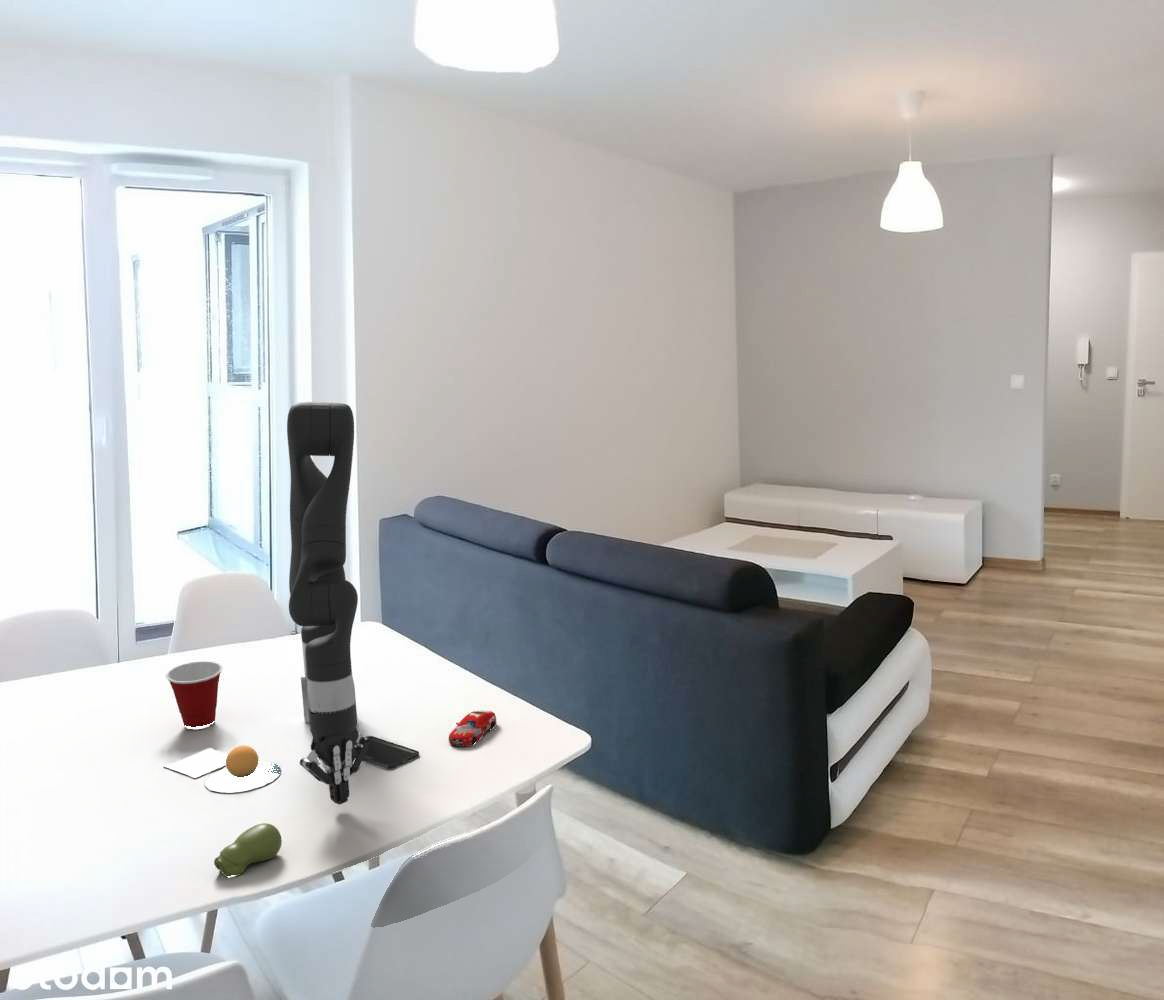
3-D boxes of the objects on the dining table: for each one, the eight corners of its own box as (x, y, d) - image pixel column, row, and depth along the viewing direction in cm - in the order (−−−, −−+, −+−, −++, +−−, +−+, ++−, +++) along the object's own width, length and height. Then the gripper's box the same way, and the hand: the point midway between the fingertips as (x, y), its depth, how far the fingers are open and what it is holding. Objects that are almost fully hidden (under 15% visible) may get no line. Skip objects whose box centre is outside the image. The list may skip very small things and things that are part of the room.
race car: (469, 751, 187) (467, 731, 186) (444, 748, 189) (442, 728, 188) (501, 725, 199) (500, 706, 198) (477, 722, 201) (476, 703, 200)
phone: (368, 735, 194) (421, 752, 185) (369, 740, 194) (422, 757, 185) (336, 748, 188) (389, 767, 179) (336, 754, 188) (389, 773, 179)
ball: (220, 750, 176) (238, 774, 174) (248, 734, 179) (265, 758, 178) (219, 764, 180) (235, 787, 178) (246, 748, 183) (262, 771, 182)
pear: (283, 823, 148) (221, 860, 142) (291, 854, 150) (231, 891, 143) (265, 812, 152) (204, 847, 146) (273, 841, 154) (213, 877, 147)
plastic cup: (172, 739, 197) (165, 681, 195) (170, 721, 207) (164, 666, 205) (230, 729, 202) (224, 672, 200) (225, 712, 211) (220, 657, 209)
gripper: (350, 685, 168) (358, 781, 171) (283, 709, 158) (292, 811, 161) (379, 694, 164) (386, 793, 166) (311, 719, 154) (320, 824, 156)
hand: (340, 802), depth 164 cm, fingers closed
